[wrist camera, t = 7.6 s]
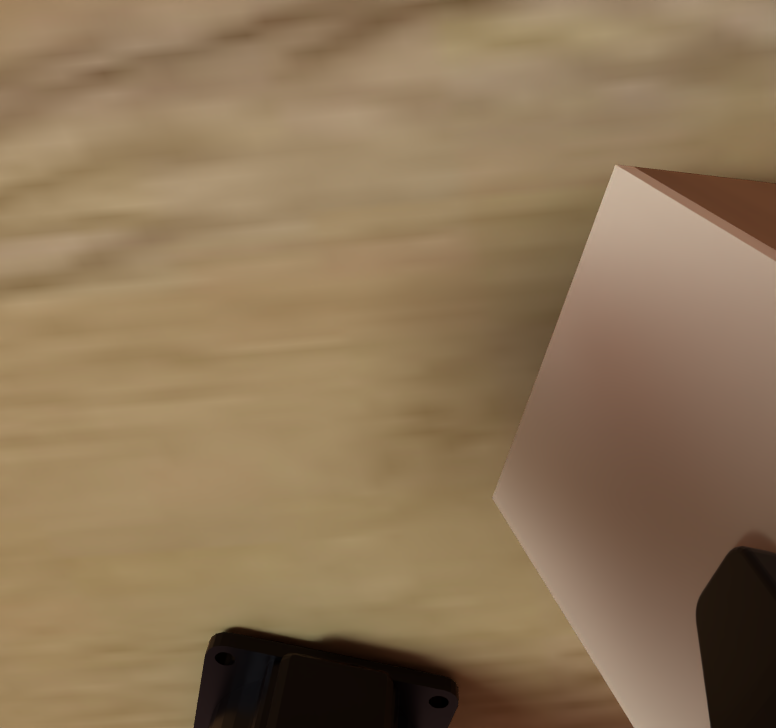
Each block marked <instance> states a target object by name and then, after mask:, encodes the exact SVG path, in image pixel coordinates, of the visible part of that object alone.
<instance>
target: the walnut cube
mask: <svg viewBox="0 0 776 728" xmlns="http://www.w3.org/2000/svg"><path fill="white" fill-rule="evenodd" d="M492 499H493V500H494V502H495V503H496V505H497V507H498V508H499V510H500V512H501V513H502V515H503V516H504V518H505V520H506V521H507V523H508V525H509V526H510V528H511V529H512V531H513V533H514V534H515V536H516V537H517V539H518V541H519V542H520V544H521V546H522V547H523V549H524V550H525V552H526V554H527V555H528V557H529V558H530V560H531V562H532V563H533V565H534V567H535V568H536V570H537V571H538V573H539V575H540V576H541V578H542V580H543V581H544V583H545V584H546V586H547V588H548V589H549V591H550V592H551V594H552V596H553V597H554V599H555V601H556V602H557V604H558V605H559V607H560V609H561V610H562V612H563V613H564V615H565V617H566V618H567V620H568V622H569V623H570V625H571V626H572V628H573V630H574V631H575V633H576V635H577V636H578V638H579V639H580V641H581V643H582V644H583V646H584V647H585V649H586V651H587V652H588V654H589V656H590V657H591V659H592V660H593V662H594V664H595V665H596V667H597V668H598V670H599V672H600V673H601V675H602V677H603V678H604V680H605V681H606V683H607V685H608V686H609V688H610V690H611V691H612V693H613V694H614V696H615V698H616V699H617V701H618V702H619V704H620V706H621V707H622V709H623V711H624V712H625V714H626V715H627V717H628V719H629V720H630V722H631V724H632V725H633V727H634V728H711V727H710V720H709V713H708V706H707V698H706V691H705V684H704V677H703V670H702V662H701V655H700V648H699V641H698V634H697V627H696V617H695V615H696V605H697V602H698V599H699V596H700V594H701V593H702V591H703V590H704V588H705V587H706V585H707V583H708V582H709V580H710V579H711V577H712V576H713V574H714V573H715V571H716V570H717V568H718V567H719V565H720V564H721V562H722V561H723V559H724V558H725V556H726V555H727V553H728V552H729V551H730V550H731V549H733V548H735V547H737V546H747V547H752V548H756V549H761V550H766V551H770V552H773V553H776V183H767V182H759V181H750V180H742V179H733V178H725V177H716V176H708V175H700V174H691V173H683V172H674V171H666V170H657V169H649V168H640V167H632V166H624V165H615V167H614V170H613V173H612V175H611V178H610V181H609V183H608V186H607V189H606V192H605V194H604V197H603V200H602V202H601V205H600V208H599V210H598V213H597V216H596V219H595V221H594V224H593V227H592V229H591V232H590V235H589V237H588V240H587V243H586V246H585V248H584V251H583V254H582V256H581V259H580V262H579V265H578V267H577V270H576V273H575V275H574V278H573V281H572V283H571V286H570V289H569V292H568V294H567V297H566V300H565V302H564V305H563V308H562V310H561V313H560V316H559V319H558V321H557V324H556V327H555V329H554V332H553V335H552V338H551V340H550V343H549V346H548V348H547V351H546V354H545V356H544V359H543V362H542V365H541V367H540V370H539V373H538V375H537V378H536V381H535V383H534V386H533V389H532V392H531V394H530V397H529V400H528V402H527V405H526V408H525V411H524V413H523V416H522V419H521V421H520V424H519V427H518V429H517V432H516V435H515V438H514V440H513V443H512V446H511V448H510V451H509V454H508V456H507V459H506V462H505V465H504V467H503V470H502V473H501V475H500V478H499V481H498V484H497V486H496V489H495V492H494V494H493V497H492Z"/></svg>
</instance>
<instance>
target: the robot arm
mask: <svg viewBox="0 0 776 728" xmlns="http://www.w3.org/2000/svg"><path fill="white" fill-rule="evenodd" d="M695 617H696V627H697V634H698V641H699V648H700V655H701V662H702V670H703V677H704V684H705V691H706V698H707V706H708V713H709V720H710V727H711V728H776V553H773V552H770V551H766V550H761V549H756V548H752V547H747V546H737V547H735V548H733V549H731V550H730V551H729V552H728V553H727V555H726V556H725V558H724V559H723V561H722V562H721V564H720V565H719V567H718V568H717V570H716V571H715V573H714V574H713V576H712V577H711V579H710V580H709V582H708V583H707V585H706V587H705V588H704V590H703V591H702V593H701V594H700V596H699V599H698V602H697V605H696V615H695ZM457 707H458V686H457V684H456V682H454V681H453V680H452V679H450V678H447V677H445V676H440V675H435V674H430V673H425V672H421V671H416V670H411V669H406V668H401V667H396V666H391V665H386V664H381V663H377V662H372V661H367V660H362V659H357V658H352V657H347V656H342V655H337V654H333V653H328V652H323V651H318V650H313V649H308V648H303V647H298V646H293V645H289V644H284V643H279V642H274V641H269V640H264V639H259V638H254V637H249V636H245V635H240V634H235V633H227V632H222V633H218V634H215V635H214V636H212V637H211V639H210V641H209V645H208V648H207V651H206V654H205V659H204V665H203V672H202V678H201V684H200V691H199V697H198V703H197V710H196V716H195V722H194V728H448V726H449V724H450V722H451V719H452V717H453V715H454V713H455V711H456V709H457Z"/></svg>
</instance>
